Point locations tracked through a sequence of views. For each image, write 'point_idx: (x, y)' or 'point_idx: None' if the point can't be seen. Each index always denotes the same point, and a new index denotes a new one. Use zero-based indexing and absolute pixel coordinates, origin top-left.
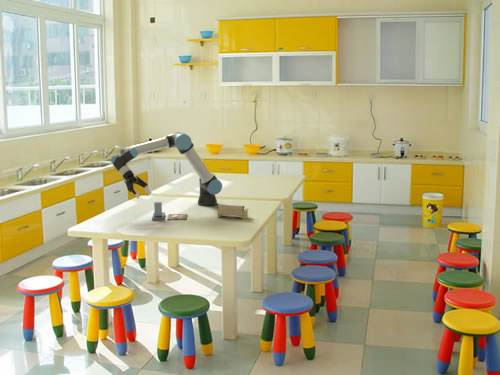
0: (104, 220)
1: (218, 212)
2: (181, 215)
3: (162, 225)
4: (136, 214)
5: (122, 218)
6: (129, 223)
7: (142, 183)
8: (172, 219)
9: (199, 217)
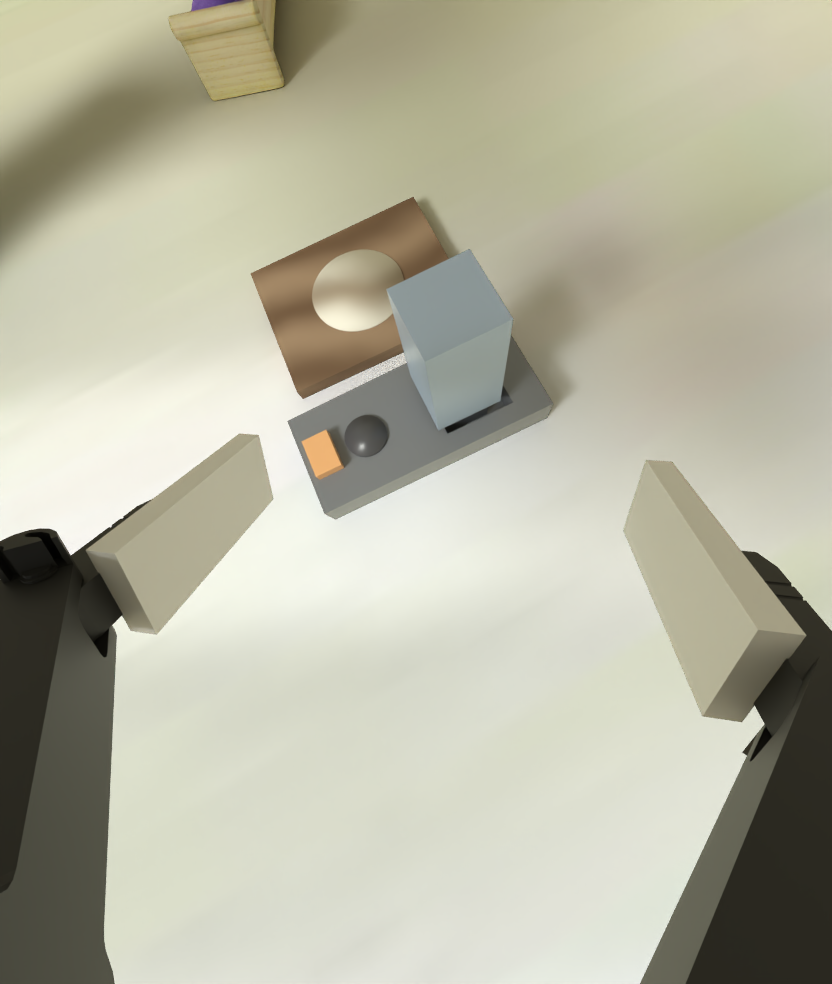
0: None
1: (266, 33)
2: (319, 277)
3: (641, 270)
4: (319, 726)
5: (543, 784)
6: None
7: (25, 677)
8: None
9: (296, 183)
